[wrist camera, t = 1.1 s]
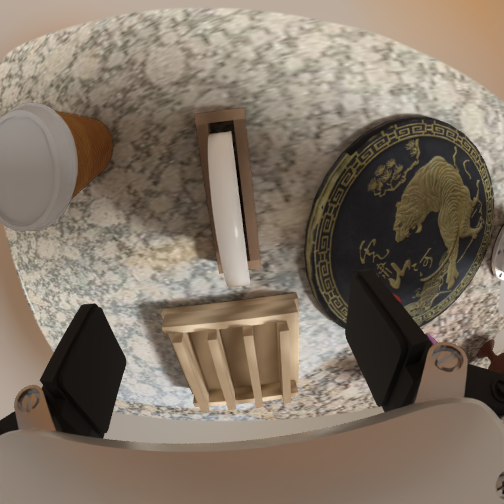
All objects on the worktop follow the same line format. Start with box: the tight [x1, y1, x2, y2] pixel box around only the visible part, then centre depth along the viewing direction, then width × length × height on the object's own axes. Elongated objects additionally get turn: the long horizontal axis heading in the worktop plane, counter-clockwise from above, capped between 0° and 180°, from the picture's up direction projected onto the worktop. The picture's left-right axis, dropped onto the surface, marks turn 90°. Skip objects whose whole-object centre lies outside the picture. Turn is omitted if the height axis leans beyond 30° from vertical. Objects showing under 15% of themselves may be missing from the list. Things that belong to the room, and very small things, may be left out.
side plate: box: [208, 131, 250, 288], centre depth 22 cm, size 2×12×12 cm, turn 6°
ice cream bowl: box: [478, 340, 504, 374], centre depth 39 cm, size 11×11×15 cm
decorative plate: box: [304, 117, 494, 329], centre depth 31 cm, size 30×2×30 cm
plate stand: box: [194, 108, 261, 274], centre depth 27 cm, size 4×15×2 cm, turn 6°
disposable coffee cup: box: [0, 102, 113, 232], centre depth 19 cm, size 10×10×12 cm
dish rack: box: [161, 293, 299, 412], centre depth 35 cm, size 16×16×5 cm
